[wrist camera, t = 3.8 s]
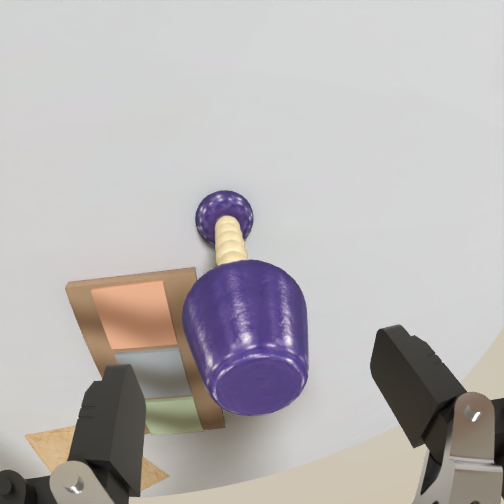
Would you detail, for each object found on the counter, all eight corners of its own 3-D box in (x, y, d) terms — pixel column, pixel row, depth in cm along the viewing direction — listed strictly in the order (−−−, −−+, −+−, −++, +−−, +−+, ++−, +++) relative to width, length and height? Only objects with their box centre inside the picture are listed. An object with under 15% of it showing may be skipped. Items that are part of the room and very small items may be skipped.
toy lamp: (180, 231, 24) (163, 423, 9) (202, 173, 22) (213, 307, 7) (239, 251, 25) (297, 440, 10) (264, 197, 24) (372, 346, 9)
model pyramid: (20, 432, 32) (3, 485, 23) (99, 416, 31) (87, 486, 22) (91, 484, 39) (86, 531, 30) (172, 474, 39) (174, 530, 30)
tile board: (68, 282, 24) (63, 290, 22) (195, 267, 25) (195, 275, 24) (133, 427, 32) (132, 436, 31) (224, 421, 33) (225, 430, 32)
